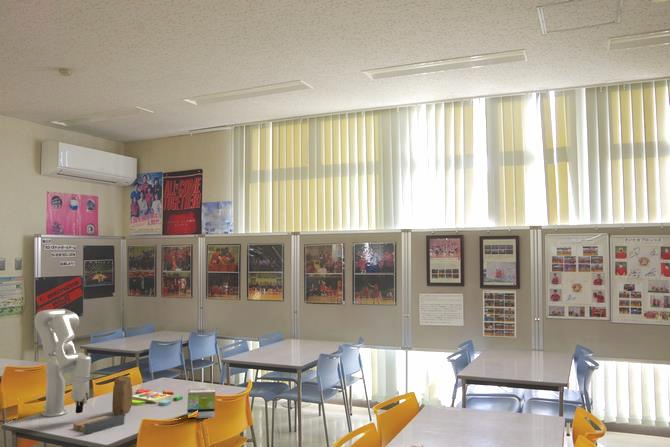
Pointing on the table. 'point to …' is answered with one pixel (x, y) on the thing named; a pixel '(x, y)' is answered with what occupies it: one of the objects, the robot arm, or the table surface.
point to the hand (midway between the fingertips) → (79, 412)
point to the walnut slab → (81, 424)
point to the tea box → (201, 402)
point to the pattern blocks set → (153, 397)
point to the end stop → (103, 423)
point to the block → (122, 395)
